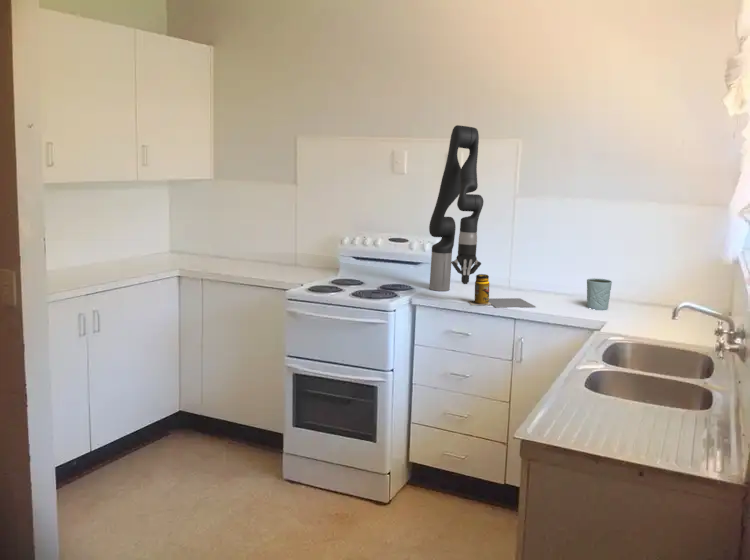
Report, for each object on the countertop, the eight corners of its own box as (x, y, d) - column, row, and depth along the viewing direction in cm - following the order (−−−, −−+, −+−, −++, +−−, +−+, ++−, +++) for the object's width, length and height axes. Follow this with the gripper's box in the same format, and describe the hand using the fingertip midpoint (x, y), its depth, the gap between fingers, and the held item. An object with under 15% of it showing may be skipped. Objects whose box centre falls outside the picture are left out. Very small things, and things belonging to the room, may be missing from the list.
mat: (481, 299, 328) (481, 298, 328) (520, 299, 332) (520, 298, 332) (495, 307, 313) (495, 306, 313) (535, 307, 317) (535, 306, 317)
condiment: (491, 304, 317) (492, 276, 314) (471, 305, 316) (472, 277, 313) (486, 300, 324) (487, 273, 321) (467, 301, 323) (468, 273, 320)
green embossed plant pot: (610, 311, 316) (613, 283, 313) (585, 309, 318) (587, 281, 315) (607, 306, 325) (610, 279, 323) (583, 304, 327) (586, 277, 325)
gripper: (479, 241, 318) (476, 282, 322) (449, 241, 315) (446, 282, 319) (485, 244, 311) (482, 285, 314) (455, 243, 308) (452, 285, 311)
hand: (464, 283), depth 317 cm, fingers closed
